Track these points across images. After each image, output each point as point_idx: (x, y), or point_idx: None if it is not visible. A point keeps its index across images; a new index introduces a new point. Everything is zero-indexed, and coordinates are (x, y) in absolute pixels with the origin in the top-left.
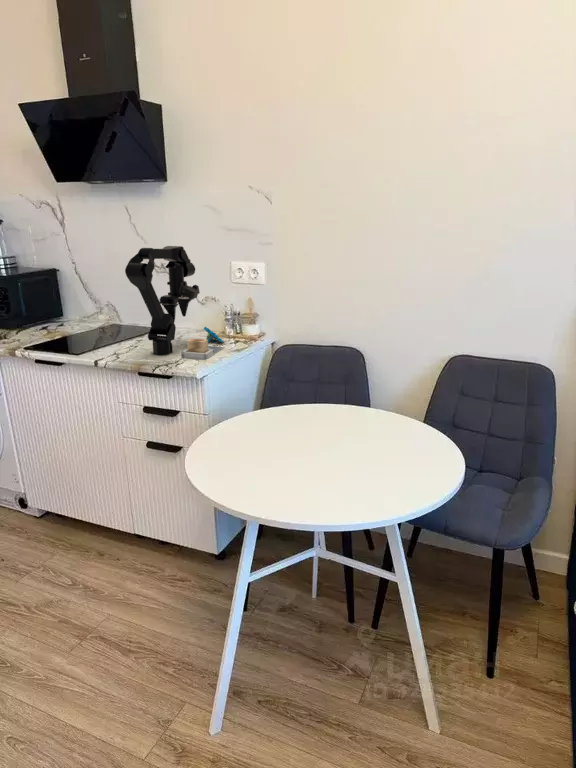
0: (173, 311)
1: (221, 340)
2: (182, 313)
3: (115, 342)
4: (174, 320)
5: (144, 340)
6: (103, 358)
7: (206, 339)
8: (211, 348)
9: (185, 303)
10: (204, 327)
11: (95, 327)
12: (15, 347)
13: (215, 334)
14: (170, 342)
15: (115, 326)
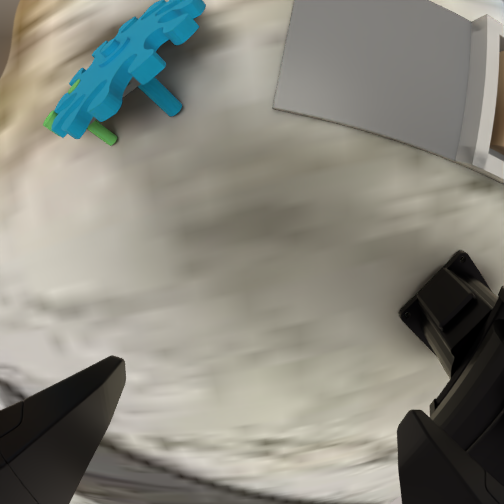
0: (495, 489)
1: (163, 4)
2: (113, 408)
3: (213, 487)
4: (420, 410)
5: (157, 431)
6: None
7: (102, 129)
8: (349, 33)
9: (13, 485)
10: (110, 109)
11: (81, 498)
12: None
13: (193, 4)
14: (485, 301)
15: None
